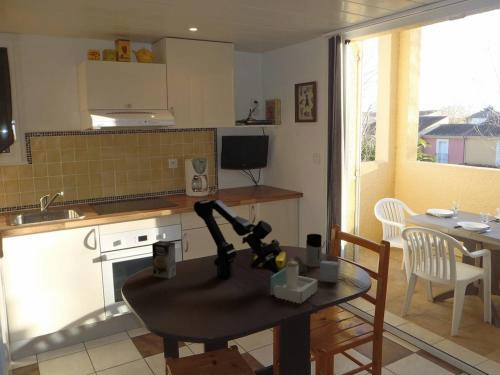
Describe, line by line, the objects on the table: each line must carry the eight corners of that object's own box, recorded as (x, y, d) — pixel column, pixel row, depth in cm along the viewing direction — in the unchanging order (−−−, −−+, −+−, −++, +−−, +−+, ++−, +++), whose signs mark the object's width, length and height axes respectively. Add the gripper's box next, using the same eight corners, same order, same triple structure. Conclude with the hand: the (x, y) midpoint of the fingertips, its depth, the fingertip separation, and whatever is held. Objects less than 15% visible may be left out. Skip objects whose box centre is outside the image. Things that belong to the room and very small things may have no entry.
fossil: (306, 277, 203) (296, 259, 202) (289, 285, 206) (279, 266, 205) (309, 269, 213) (299, 251, 213) (292, 276, 216) (283, 258, 216)
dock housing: (275, 297, 183) (275, 286, 182) (293, 285, 196) (293, 274, 195) (300, 303, 176) (300, 292, 175) (317, 290, 189) (317, 279, 188)
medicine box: (338, 279, 202) (338, 262, 200) (337, 283, 198) (337, 265, 196) (321, 277, 204) (321, 260, 203) (319, 281, 200) (320, 263, 199)
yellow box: (258, 257, 235) (258, 249, 234) (285, 259, 232) (286, 250, 232) (253, 267, 220) (253, 258, 220) (282, 268, 218) (282, 259, 217)
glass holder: (310, 260, 230) (310, 232, 227) (334, 265, 222) (335, 236, 219) (302, 264, 223) (302, 236, 220) (327, 270, 215) (328, 240, 212)
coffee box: (152, 276, 207) (151, 243, 205) (160, 272, 213) (159, 240, 210) (169, 279, 204) (167, 245, 201) (176, 274, 210) (175, 242, 207)
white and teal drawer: (270, 294, 185) (270, 276, 183) (287, 283, 197) (287, 266, 195) (295, 301, 178) (295, 282, 177) (310, 289, 190) (311, 271, 189)
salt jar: (286, 291, 184) (286, 264, 182) (285, 287, 189) (285, 260, 187) (298, 291, 184) (299, 264, 183) (296, 287, 190) (297, 260, 188)
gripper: (256, 239, 182) (279, 269, 178) (278, 230, 198) (300, 257, 193) (241, 254, 188) (263, 284, 183) (263, 244, 203) (284, 271, 199)
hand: (278, 273), depth 190 cm, fingers closed, pressing on white and teal drawer
